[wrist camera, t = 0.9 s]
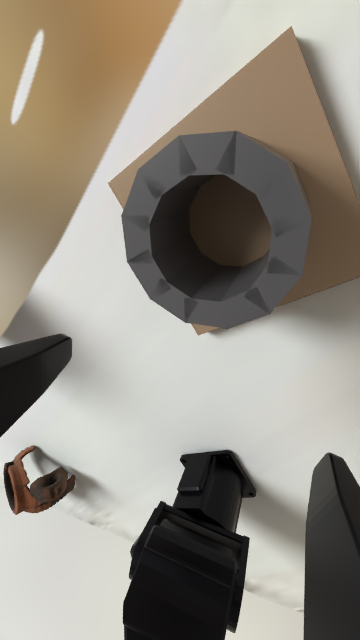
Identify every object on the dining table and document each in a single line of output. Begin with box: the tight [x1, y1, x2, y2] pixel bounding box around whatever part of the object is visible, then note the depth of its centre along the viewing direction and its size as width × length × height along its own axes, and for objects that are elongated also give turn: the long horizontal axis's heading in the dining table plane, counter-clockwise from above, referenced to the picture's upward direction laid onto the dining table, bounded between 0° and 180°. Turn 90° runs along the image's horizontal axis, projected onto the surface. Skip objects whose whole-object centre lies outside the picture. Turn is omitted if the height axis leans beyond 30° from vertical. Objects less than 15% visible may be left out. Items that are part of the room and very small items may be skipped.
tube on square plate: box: [108, 26, 360, 335], centre depth 17 cm, size 13×13×7 cm
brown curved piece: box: [4, 446, 75, 515], centre depth 44 cm, size 12×10×8 cm
